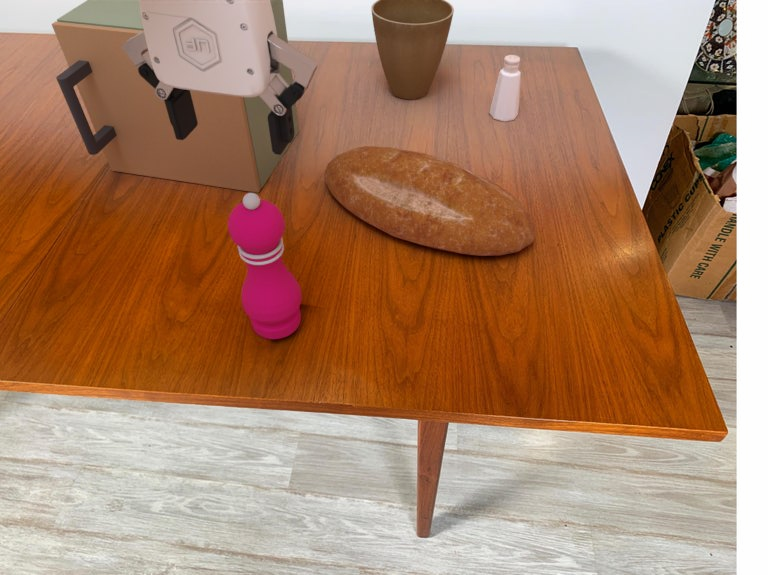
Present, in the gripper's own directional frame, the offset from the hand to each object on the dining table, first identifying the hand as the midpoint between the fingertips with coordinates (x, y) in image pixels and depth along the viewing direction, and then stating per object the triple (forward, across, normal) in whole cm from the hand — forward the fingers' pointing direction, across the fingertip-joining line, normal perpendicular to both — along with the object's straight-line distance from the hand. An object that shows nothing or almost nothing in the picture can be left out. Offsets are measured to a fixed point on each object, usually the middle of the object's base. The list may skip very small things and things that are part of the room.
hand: (234, 139), depth 55 cm
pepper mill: (+27, +1, +1) cm, 27 cm away
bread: (+26, +14, +27) cm, 40 cm away
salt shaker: (+26, +24, +59) cm, 68 cm away
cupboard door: (+27, -25, +23) cm, 43 cm away
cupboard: (+26, -25, +35) cm, 51 cm away
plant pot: (+26, +4, +64) cm, 69 cm away
